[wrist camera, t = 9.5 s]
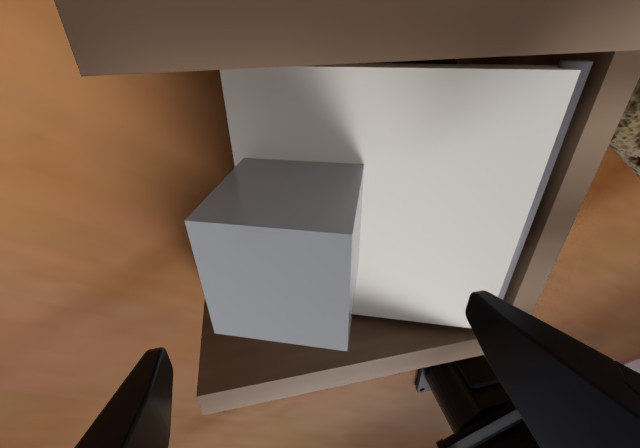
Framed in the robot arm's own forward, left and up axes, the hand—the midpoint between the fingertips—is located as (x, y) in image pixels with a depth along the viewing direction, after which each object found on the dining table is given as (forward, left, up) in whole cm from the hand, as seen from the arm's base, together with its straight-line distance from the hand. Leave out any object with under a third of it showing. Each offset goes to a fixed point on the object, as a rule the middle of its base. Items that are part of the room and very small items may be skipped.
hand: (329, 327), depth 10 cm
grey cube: (0, 0, -6) cm, 7 cm away
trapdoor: (0, -4, -6) cm, 7 cm away
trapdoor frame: (0, -3, -12) cm, 12 cm away
